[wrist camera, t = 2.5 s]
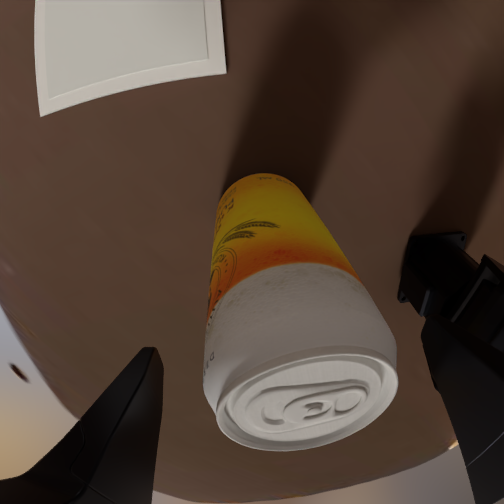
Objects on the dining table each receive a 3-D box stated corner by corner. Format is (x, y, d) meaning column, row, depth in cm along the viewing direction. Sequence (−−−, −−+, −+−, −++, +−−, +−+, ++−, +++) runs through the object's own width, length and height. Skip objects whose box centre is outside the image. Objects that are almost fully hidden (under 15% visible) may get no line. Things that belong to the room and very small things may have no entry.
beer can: (210, 176, 19) (174, 359, 6) (303, 166, 19) (436, 317, 6) (223, 257, 22) (222, 462, 9) (306, 247, 22) (385, 434, 9)
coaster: (214, -82, 10) (213, -86, 9) (226, 73, 16) (226, 73, 16) (42, -32, 10) (38, -33, 9) (44, 115, 16) (39, 116, 15)
